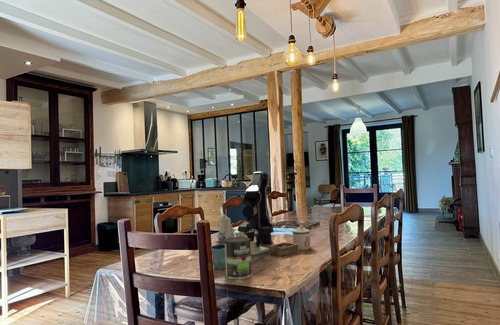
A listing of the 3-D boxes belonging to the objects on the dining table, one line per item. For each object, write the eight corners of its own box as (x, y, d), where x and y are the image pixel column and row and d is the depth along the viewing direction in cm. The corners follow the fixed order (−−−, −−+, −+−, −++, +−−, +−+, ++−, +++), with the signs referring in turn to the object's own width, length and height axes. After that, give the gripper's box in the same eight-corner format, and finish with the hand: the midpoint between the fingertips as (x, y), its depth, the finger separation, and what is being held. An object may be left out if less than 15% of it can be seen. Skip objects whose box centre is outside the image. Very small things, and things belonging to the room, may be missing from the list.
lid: (241, 253, 165) (240, 242, 165) (256, 249, 173) (256, 238, 173) (253, 256, 159) (253, 244, 159) (269, 251, 166) (268, 240, 166)
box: (269, 254, 163) (269, 246, 164) (284, 250, 171) (283, 242, 171) (283, 256, 157) (283, 248, 157) (298, 252, 165) (297, 244, 165)
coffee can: (256, 276, 129) (254, 239, 130) (232, 281, 124) (230, 243, 125) (244, 270, 138) (243, 235, 139) (221, 274, 133) (220, 239, 134)
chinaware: (253, 244, 198) (254, 215, 200) (229, 245, 189) (231, 215, 190) (229, 238, 221) (230, 212, 223) (207, 239, 212) (208, 212, 213)
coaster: (238, 254, 166) (238, 253, 166) (255, 250, 174) (255, 248, 174) (255, 258, 157) (255, 256, 157) (272, 253, 166) (272, 251, 166)
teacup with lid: (308, 250, 167) (306, 227, 168) (290, 249, 171) (289, 226, 171) (314, 245, 178) (313, 223, 178) (297, 244, 182) (296, 223, 182)
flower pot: (206, 268, 144) (205, 247, 144) (222, 263, 150) (221, 243, 151) (219, 271, 138) (218, 249, 138) (235, 266, 144) (234, 245, 144)
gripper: (229, 216, 168) (230, 247, 167) (255, 218, 154) (256, 252, 154) (245, 213, 175) (246, 243, 175) (271, 215, 162) (273, 248, 161)
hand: (255, 246), depth 166 cm, fingers open, 4 cm apart
